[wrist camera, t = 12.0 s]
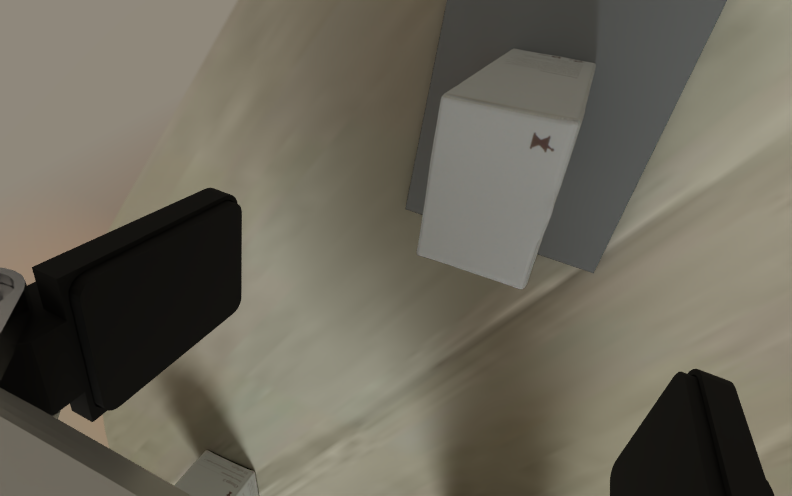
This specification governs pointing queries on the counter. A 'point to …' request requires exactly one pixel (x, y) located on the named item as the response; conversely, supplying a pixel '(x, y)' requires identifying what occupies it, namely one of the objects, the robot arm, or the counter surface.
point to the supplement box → (217, 478)
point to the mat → (607, 101)
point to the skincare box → (502, 163)
